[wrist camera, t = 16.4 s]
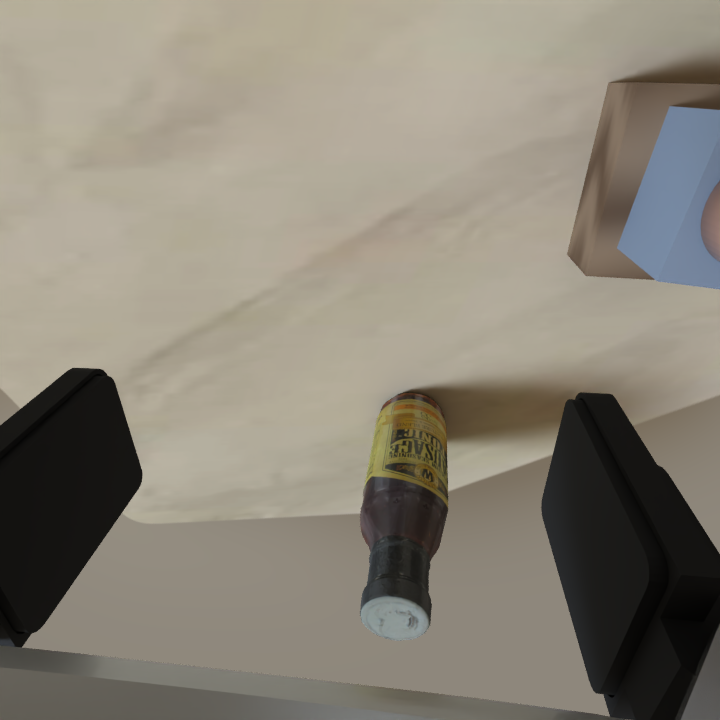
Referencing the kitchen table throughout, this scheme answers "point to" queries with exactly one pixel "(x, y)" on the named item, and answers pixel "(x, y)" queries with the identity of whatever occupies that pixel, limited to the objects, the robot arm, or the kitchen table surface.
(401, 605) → the sauce bottle
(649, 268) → the tower middle
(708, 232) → the terracotta cylinder
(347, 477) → the kitchen table surface
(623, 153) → the tower base
